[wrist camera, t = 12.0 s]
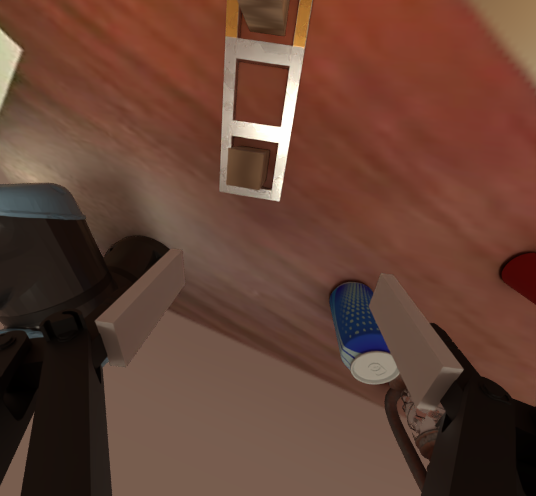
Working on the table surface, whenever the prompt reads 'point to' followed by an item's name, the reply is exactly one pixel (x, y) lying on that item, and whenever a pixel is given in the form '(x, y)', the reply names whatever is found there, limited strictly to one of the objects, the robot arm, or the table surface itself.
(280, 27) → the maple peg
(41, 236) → the robot arm
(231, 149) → the walnut peg
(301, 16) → the white yellow rectangular frame
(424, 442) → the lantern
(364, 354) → the beer can
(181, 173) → the table surface
